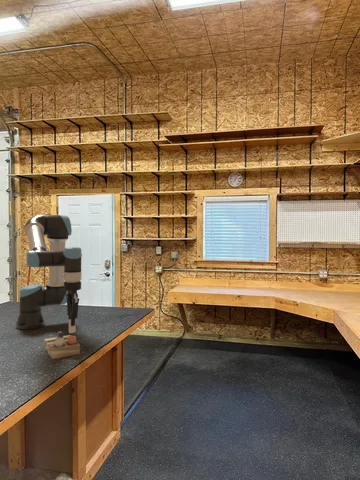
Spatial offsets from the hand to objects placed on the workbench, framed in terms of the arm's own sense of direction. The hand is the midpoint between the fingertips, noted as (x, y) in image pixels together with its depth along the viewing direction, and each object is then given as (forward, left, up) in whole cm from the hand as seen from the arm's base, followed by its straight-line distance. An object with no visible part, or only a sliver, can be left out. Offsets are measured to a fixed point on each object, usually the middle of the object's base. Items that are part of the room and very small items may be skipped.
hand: (72, 332), depth 145 cm
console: (-4, -3, -9) cm, 11 cm away
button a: (0, 0, -5) cm, 5 cm away
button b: (0, -5, -5) cm, 8 cm away
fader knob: (-8, -3, -5) cm, 10 cm away
